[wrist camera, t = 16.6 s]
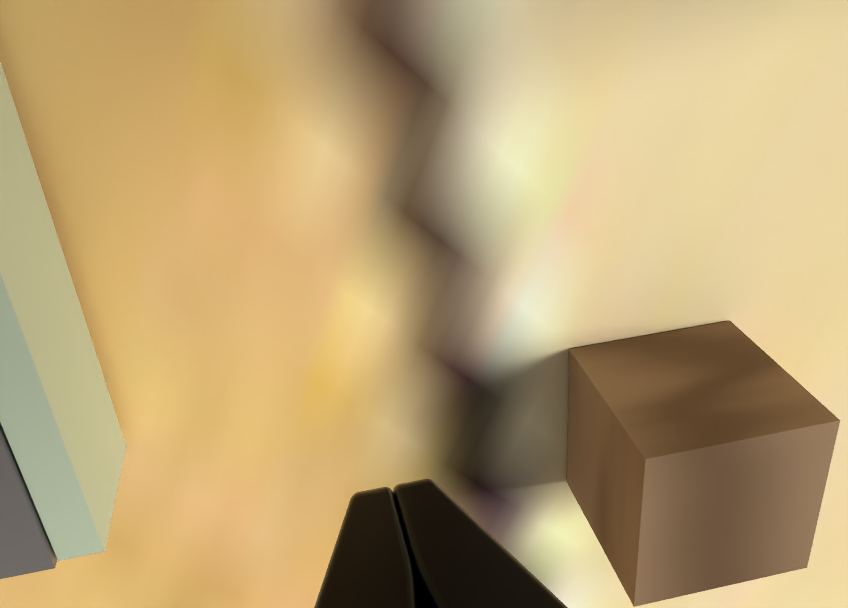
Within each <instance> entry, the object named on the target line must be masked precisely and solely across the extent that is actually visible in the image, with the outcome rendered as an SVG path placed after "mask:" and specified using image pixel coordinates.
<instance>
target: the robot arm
mask: <svg viewBox="0 0 848 608" xmlns="http://www.w3.org/2000/svg"><path fill="white" fill-rule="evenodd" d="M314 608H567V607H566V606H565V605H564V604H563V603H562V602H561V601H560V600H559V599H558V598H557V597H556V596H555V595H554V594H553V593H552V592H550V591H549V590H548V589H547V588H546V587H545V586H544V585H543V584H542V583H541V582H540V581H539V580H538V579H537V578H536V577H535V576H534V575H532V574H531V573H530V572H529V571H528V570H527V569H526V568H525V567H524V566H523V565H522V564H521V563H520V562H519V561H518V560H517V559H516V558H514V557H513V556H512V555H511V554H510V553H509V552H508V551H507V550H506V549H505V548H504V547H503V546H502V545H501V544H500V543H499V542H497V541H496V540H495V539H494V538H493V537H492V536H491V535H490V534H489V533H488V532H487V531H486V530H485V529H484V528H483V527H482V526H481V525H479V524H478V523H477V522H476V521H475V520H474V519H473V518H472V517H471V516H470V515H469V514H468V513H467V512H466V511H465V510H464V509H462V508H461V507H460V506H459V505H458V504H457V503H456V502H455V501H454V500H453V499H452V498H451V497H450V496H449V495H448V494H447V493H446V492H444V491H443V490H442V489H441V488H440V487H439V486H438V485H437V484H436V483H435V482H434V481H432V480H429V479H423V480H418V481H413V482H408V483H403V484H399V485H396V486H395V487H394V490H393V492H392V490H391V489H390V488H388V487H382V488H377V489H372V490H367V491H362V492H357V493H355V494H354V495H353V496H352V498H351V500H350V502H349V505H348V508H347V511H346V514H345V517H344V520H343V523H342V526H341V529H340V532H339V535H338V538H337V541H336V544H335V547H334V550H333V553H332V556H331V559H330V562H329V565H328V568H327V571H326V574H325V577H324V580H323V583H322V586H321V589H320V592H319V595H318V598H317V601H316V604H315V607H314Z"/></svg>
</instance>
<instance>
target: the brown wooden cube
mask: <svg viewBox="0 0 848 608" xmlns="http://www.w3.org/2000/svg"><path fill="white" fill-rule="evenodd" d="M839 423H840V420H839V419H838V418H837V417H836V416H835V415H833V414H832V413H831V412H830V411H829V410H828V409H827V408H826V407H825V406H824V405H822V404H821V403H820V402H819V401H818V400H817V399H816V398H815V397H814V396H813V395H811V394H810V393H809V392H808V391H807V390H806V389H805V388H804V387H803V386H801V385H800V384H799V383H798V382H797V381H796V380H795V379H794V378H793V377H792V376H790V375H789V374H788V373H787V372H786V371H785V370H784V369H783V368H782V367H780V366H779V365H778V364H777V363H776V362H775V361H774V360H773V359H772V358H771V357H769V356H768V355H767V354H766V353H765V352H764V351H763V350H762V349H761V348H760V347H758V346H757V345H756V344H755V343H754V342H753V341H752V340H751V339H750V338H748V337H747V336H746V335H745V334H744V333H743V332H742V331H741V330H740V329H739V328H737V327H736V326H735V325H734V324H733V323H732V322H731V321H725V322H720V323H714V324H708V325H703V326H697V327H691V328H686V329H680V330H674V331H669V332H663V333H657V334H652V335H646V336H640V337H635V338H629V339H623V340H618V341H612V342H606V343H601V344H595V345H589V346H584V347H578V348H572V349H569V383H568V442H567V483H568V485H569V487H570V489H571V491H572V492H573V494H574V496H575V498H576V500H577V502H578V504H579V505H580V507H581V509H582V511H583V513H584V515H585V517H586V518H587V520H588V522H589V524H590V526H591V528H592V530H593V531H594V533H595V535H596V537H597V539H598V541H599V543H600V544H601V546H602V548H603V550H604V552H605V554H606V556H607V557H608V559H609V561H610V563H611V565H612V567H613V569H614V570H615V572H616V574H617V576H618V578H619V580H620V582H621V583H622V585H623V587H624V589H625V591H626V593H627V595H628V596H629V598H630V600H631V602H632V604H633V606H634V607H635V606H639V605H643V604H648V603H652V602H657V601H661V600H666V599H670V598H674V597H679V596H683V595H688V594H692V593H696V592H701V591H705V590H710V589H714V588H719V587H723V586H727V585H732V584H736V583H741V582H745V581H750V580H754V579H758V578H763V577H767V576H772V575H776V574H780V573H785V572H789V571H794V570H798V569H803V568H807V565H808V560H809V556H810V552H811V547H812V543H813V538H814V534H815V529H816V525H817V520H818V516H819V512H820V507H821V503H822V498H823V494H824V489H825V485H826V480H827V476H828V472H829V467H830V463H831V458H832V454H833V449H834V445H835V440H836V436H837V432H838V427H839Z"/></svg>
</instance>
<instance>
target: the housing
mask: <svg viewBox="0 0 848 608" xmlns="http://www.w3.org/2000/svg"><path fill="white" fill-rule="evenodd" d="M56 562H57V557H56V554H55V552H54V550H53V547H52V545H51V542H50V540H49V538H48V535H47V533H46V530H45V528H44V526H43V523H42V521H41V518H40V516H39V514H38V511H37V509H36V506H35V504H34V502H33V499H32V497H31V494H30V492H29V490H28V487H27V485H26V482H25V480H24V478H23V475H22V473H21V470H20V468H19V466H18V463H17V461H16V458H15V456H14V454H13V451H12V449H11V446H10V444H9V442H8V439H7V437H6V435H5V432H4V430H3V427H2V425H1V423H0V579H3V578H8V577H13V576H18V575H23V574H28V573H33V572H38V571H43V570H48V569H53V568H55V566H56Z"/></svg>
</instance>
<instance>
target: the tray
mask: <svg viewBox="0 0 848 608" xmlns="http://www.w3.org/2000/svg"><path fill="white" fill-rule="evenodd" d="M0 423H1V425H2V427H3V430H4V432H5V435H6V437H7V439H8V442H9V444H10V446H11V449H12V451H13V454H14V456H15V458H16V461H17V463H18V466H19V468H20V470H21V473H22V475H23V478H24V480H25V482H26V485H27V487H28V490H29V492H30V494H31V497H32V499H33V502H34V504H35V506H36V509H37V511H38V514H39V516H40V518H41V521H42V523H43V526H44V528H45V530H46V533H47V535H48V538H49V540H50V542H51V545H52V547H53V550H54V552H55V554H56V557H57V559H58V561H60V560H65V559H70V558H75V557H80V556H85V555H90V554H95V553H100V552H105V548H106V543H107V539H108V534H109V529H110V524H111V519H112V514H113V509H114V504H115V499H116V495H117V490H118V485H119V480H120V475H121V470H122V465H123V460H124V456H125V451H126V444H125V441H124V438H123V435H122V431H121V428H120V425H119V422H118V419H117V416H116V413H115V410H114V407H113V404H112V401H111V398H110V395H109V392H108V389H107V386H106V383H105V379H104V376H103V373H102V370H101V367H100V364H99V361H98V358H97V355H96V352H95V349H94V346H93V343H92V340H91V337H90V334H89V331H88V327H87V324H86V321H85V318H84V315H83V312H82V309H81V306H80V303H79V300H78V297H77V294H76V291H75V288H74V285H73V282H72V278H71V275H70V272H69V269H68V266H67V263H66V260H65V257H64V254H63V251H62V248H61V245H60V242H59V239H58V236H57V233H56V230H55V226H54V223H53V220H52V217H51V214H50V211H49V208H48V205H47V202H46V199H45V196H44V193H43V190H42V187H41V184H40V181H39V178H38V174H37V171H36V168H35V165H34V162H33V159H32V156H31V153H30V150H29V147H28V144H27V141H26V138H25V135H24V132H23V129H22V126H21V122H20V119H19V116H18V113H17V110H16V107H15V104H14V101H13V98H12V95H11V92H10V89H9V86H8V83H7V80H6V77H5V73H4V70H3V67H2V64H1V61H0Z"/></svg>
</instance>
